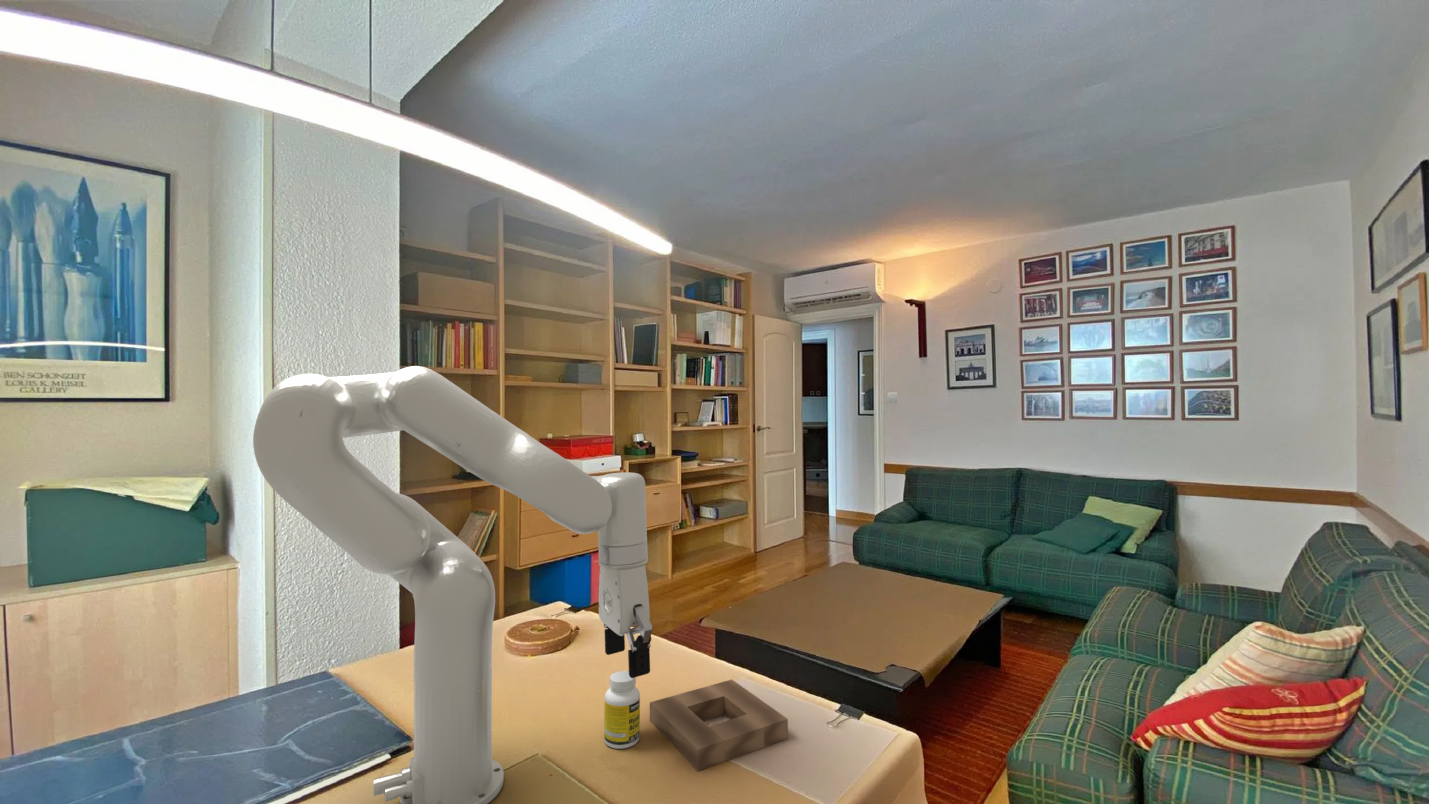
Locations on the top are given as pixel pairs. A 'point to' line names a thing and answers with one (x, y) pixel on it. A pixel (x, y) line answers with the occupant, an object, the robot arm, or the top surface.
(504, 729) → the top surface
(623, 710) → the supplement bottle
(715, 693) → the socket block
